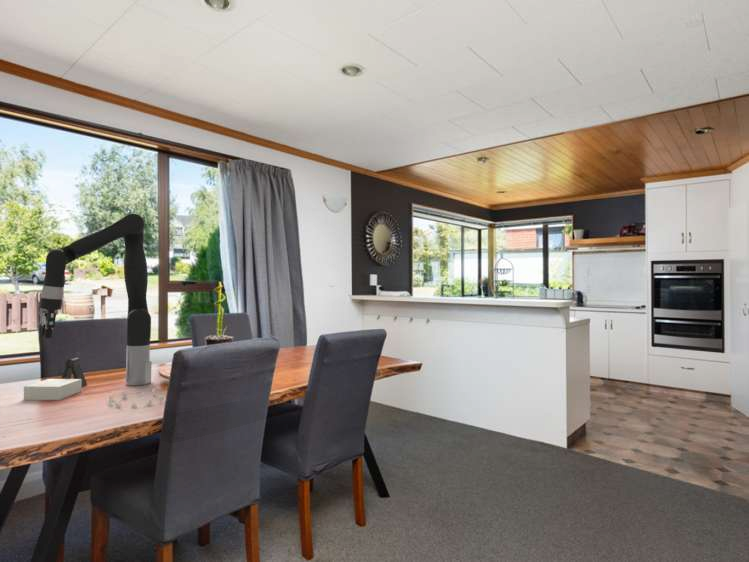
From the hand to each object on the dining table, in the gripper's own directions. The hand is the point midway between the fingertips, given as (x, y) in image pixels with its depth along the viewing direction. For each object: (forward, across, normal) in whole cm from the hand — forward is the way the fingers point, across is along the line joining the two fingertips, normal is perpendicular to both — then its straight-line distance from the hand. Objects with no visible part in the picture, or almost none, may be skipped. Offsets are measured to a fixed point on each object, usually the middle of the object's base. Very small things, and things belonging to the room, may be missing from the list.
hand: (45, 336), depth 185 cm
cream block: (+22, -11, -4) cm, 25 cm away
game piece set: (+19, -41, -25) cm, 52 cm away
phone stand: (+21, +1, -12) cm, 25 cm away
